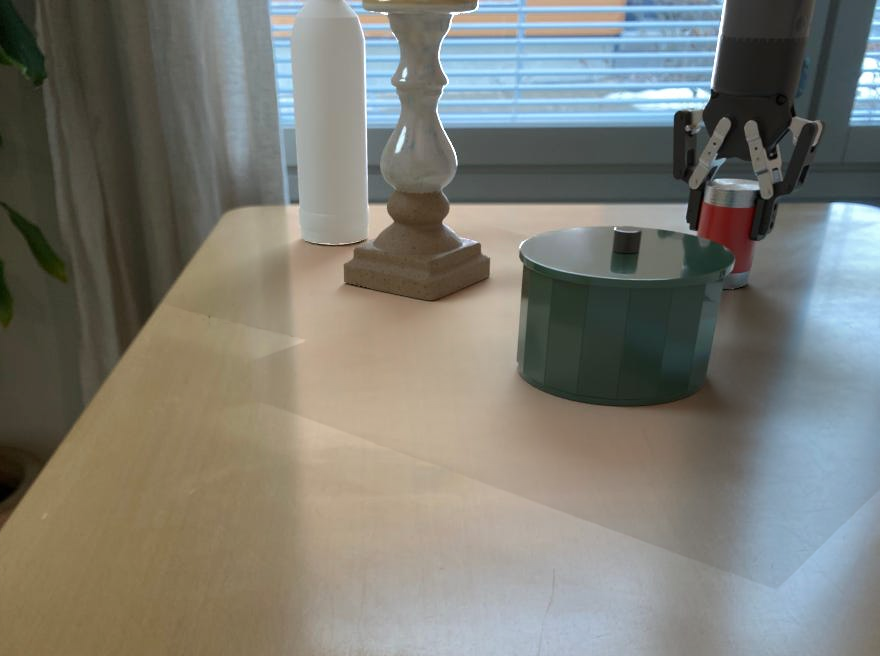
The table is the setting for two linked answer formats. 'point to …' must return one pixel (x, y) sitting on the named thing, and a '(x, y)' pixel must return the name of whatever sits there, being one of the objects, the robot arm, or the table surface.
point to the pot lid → (626, 257)
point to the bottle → (330, 122)
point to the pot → (615, 340)
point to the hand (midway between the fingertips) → (726, 233)
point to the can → (731, 222)
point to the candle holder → (418, 169)
